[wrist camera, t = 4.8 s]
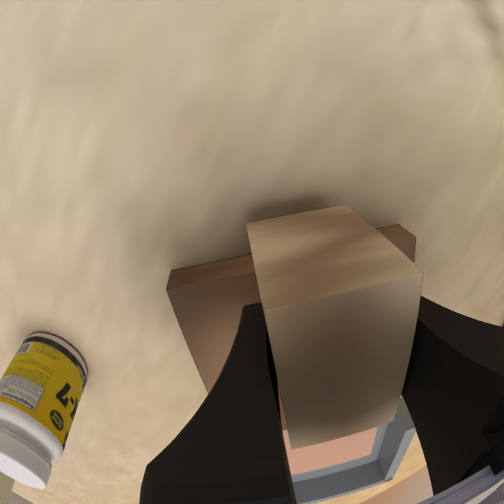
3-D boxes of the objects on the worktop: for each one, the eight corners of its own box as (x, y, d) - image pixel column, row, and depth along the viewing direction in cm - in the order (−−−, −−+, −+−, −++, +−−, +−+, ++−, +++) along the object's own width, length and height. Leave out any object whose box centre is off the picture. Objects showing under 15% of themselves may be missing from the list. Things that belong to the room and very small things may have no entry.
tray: (402, 398, 21) (417, 426, 18) (383, 457, 26) (391, 479, 23) (211, 443, 20) (212, 476, 18) (242, 490, 25) (244, 514, 23)
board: (398, 224, 14) (415, 237, 13) (380, 400, 20) (388, 416, 19) (171, 270, 14) (166, 289, 13) (235, 434, 20) (236, 452, 19)
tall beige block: (346, 204, 11) (423, 271, 6) (350, 334, 13) (393, 421, 9) (245, 223, 11) (264, 310, 6) (271, 352, 13) (291, 449, 9)
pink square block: (363, 362, 16) (383, 403, 13) (357, 419, 18) (370, 454, 16) (255, 388, 16) (261, 434, 13) (270, 440, 18) (276, 478, 16)
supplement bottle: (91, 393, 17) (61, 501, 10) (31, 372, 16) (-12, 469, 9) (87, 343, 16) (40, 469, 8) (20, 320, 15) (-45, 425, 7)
